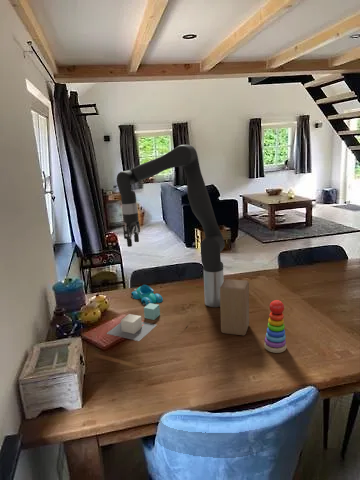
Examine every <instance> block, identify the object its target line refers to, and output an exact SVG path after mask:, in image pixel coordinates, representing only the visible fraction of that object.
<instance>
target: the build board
mask: <svg viewBox="0 0 360 480" xmlns="http://www.w3.org/2000/svg"><path fill="white" fill-rule="evenodd" d="M143 324H144V325H143ZM142 325H143V326H142V328H140V329H139V330H138V331H137V332H136V333H135V334H133V333H128V332H123V331H122V326H121V322H120V323H118V324H117V325H116V326H114V327H113V328H111V329H110V330H109V331H108V332H106V334H107V335H111V336H116V337H120V338H122V339H123V338H124V339H128V340H132V341H135V342H140V341H141V340H142V339H143V338H145V337H146V336H147V335H148V334H149V333H150V332H151V331H153V330H154V329H155V327H157V326H158V324H155V323H149V322H145V321H142Z"/></svg>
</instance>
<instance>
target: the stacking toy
mask: <svg viewBox="0 0 360 480" xmlns="http://www.w3.org/2000/svg"><path fill="white" fill-rule="evenodd" d="M269 310H270V313H269V315H268V316H269V318H268V320H267V322H268V323H267V328H266V333H265V337H264V343H263V344H264V345H263V347H264V348H265V350H266V351H267V352H271V353H274V354H275V353H276V354H279V353H283V352H285V351H286V349H287V343H286V342H287V340H286V338H287V336H286V330H285V327H286V326H285V319H284V317H285V315H284V310H285V304H284V303H283V302H282V301H281V300H279V299H275V300H272V301H271V302H270V303H269Z"/></svg>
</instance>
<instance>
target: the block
mask: <svg viewBox="0 0 360 480" xmlns="http://www.w3.org/2000/svg"><path fill="white" fill-rule="evenodd" d="M219 311H220V331H221V333H222V334H228V335H235V336H237V335H238V336H246V334H247V331H248V328H249V324H250V282H249V280H246V279H229V278H226V279H225V278H224V282H223V284H222V286H221V287H220V309H219Z"/></svg>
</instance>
